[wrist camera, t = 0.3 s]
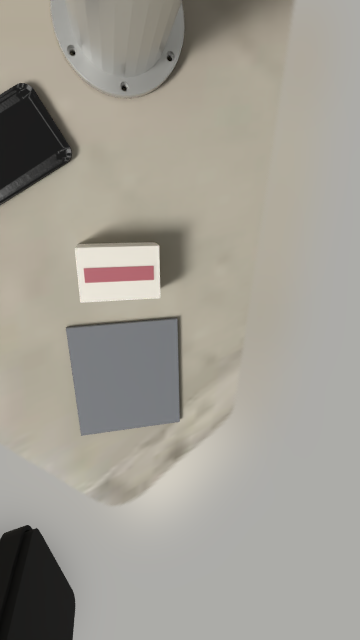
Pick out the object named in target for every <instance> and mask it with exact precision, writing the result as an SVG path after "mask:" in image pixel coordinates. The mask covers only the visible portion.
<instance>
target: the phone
mask: <svg viewBox="0 0 360 640" xmlns="http://www.w3.org/2000/svg"><path fill="white" fill-rule="evenodd" d="M71 157H72V151H71V148H70V146H69V145H68V143H67V142H66V140H65V138H64V137H63V135H62V134H61V132H60V130H59V129H58V127H57V126H56V124H55V122H54V121H53V119H52V118H51V116H50V114H49V113H48V111H47V110H46V108H45V106H44V105H43V103H42V102H41V100H40V99H39V97H38V95H37V94H36V92H35V91H34V89H33V88H32V87H31V86H29V85H28V84H25V83H19V84H17V85H15V86H13V87H12V88H10V89H9V90H7V91H5V92H4V93H2V94H1V95H0V205H1V204H3V203H4V202H6V201H7V200H9V199H11V198H12V197H14V196H15V195H17V194H19V193H20V192H22V191H23V190H25V189H27V188H28V187H30V186H31V185H33V184H35V183H36V182H38V181H39V180H41V179H43V178H44V177H46V176H47V175H49V174H51V173H52V172H54V171H55V170H57V169H59V168H60V167H62V166H63V165H65V164H66V163H68V162H69V161H70V159H71Z"/></svg>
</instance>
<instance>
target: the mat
mask: <svg viewBox="0 0 360 640" xmlns="http://www.w3.org/2000/svg"><path fill="white" fill-rule="evenodd" d="M66 332H67V339H68V346H69V353H70V360H71V367H72V374H73V381H74V388H75V395H76V402H77V409H78V416H79V423H80V430H81V436H82V435H89V434H96V433H103V432H110V431H118V430H125V429H132V428H139V427H146V426H153V425H160V424H167V423H174V422H180V414H179V369H178V325H177V318H170V319H158V320H146V321H134V322H122V323H110V324H98V325H86V326H74V327H66Z"/></svg>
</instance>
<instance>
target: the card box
mask: <svg viewBox="0 0 360 640" xmlns="http://www.w3.org/2000/svg"><path fill="white" fill-rule="evenodd" d="M75 255H76V264H77V274H78V283H79V293H80V302H98V301H116V300H134V299H152V298H160V259H159V245H158V244H157V243H155V242H140V243H98V244H77V246H76V247H75Z"/></svg>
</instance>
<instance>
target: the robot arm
mask: <svg viewBox="0 0 360 640" xmlns="http://www.w3.org/2000/svg"><path fill="white" fill-rule="evenodd" d="M50 6H51V17H52V22H53V27H54V31H55V34H56V37H57V41H58V43H59V45H60V47H61V50H62V52H63V54H64V56H65V58H66V59H67V61H68V62H69V64H70V65H71V67H72V68H73V70H74V71H75V72H76V73H77V74H78V75H79V76H80V77H81V78H82V79H83V80H84V81H85V82H86V83H88V84H89V85H90V86H91V87H93V88H95V89H96V90H98V91H100V92H102V93H104V94H107V95H110V96H113V97H118V98H135V97H140V96H143V95H145V94H148V93H150V92H152V91H153V90H155V89H156V88H158V87H159V86H160V85H161V84H162V83H163V82H164V81H165V80H166V79H167V78H168V77H169V75H170V73H171V72H172V70H173V69H174V67H175V65H176V63H177V61H178V58H179V55H180V52H181V49H182V46H183V39H184V32H185V28H184V11H183V5H182V0H50ZM72 51H73V52H75V55H74V56H71V55H70V52H72ZM167 57H170V58H171V62H170V61H168V60H167ZM122 87H126V89H127V90H126V91H123V90H122ZM74 616H75V597H74V593H73V590H72V589H71V587H70V585H69V583H68V581H67V579H66V578H65V576H64V574H63V572H62V571H61V569H60V567H59V565H58V563H57V562H56V560H55V558H54V556H53V554H52V553H51V551H50V549H49V547H48V545H47V544H46V542H45V540H44V538H43V536H42V535H41V533H40V532H39V530H38V529H37V528H36V529H32V528H31V527H30V526H29V525H26V526H23V527H20V528H18V529H15V530H12V531H9V532H6V533H4V534H3V535H2V537H1V539H0V640H72V639H73V627H74Z"/></svg>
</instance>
